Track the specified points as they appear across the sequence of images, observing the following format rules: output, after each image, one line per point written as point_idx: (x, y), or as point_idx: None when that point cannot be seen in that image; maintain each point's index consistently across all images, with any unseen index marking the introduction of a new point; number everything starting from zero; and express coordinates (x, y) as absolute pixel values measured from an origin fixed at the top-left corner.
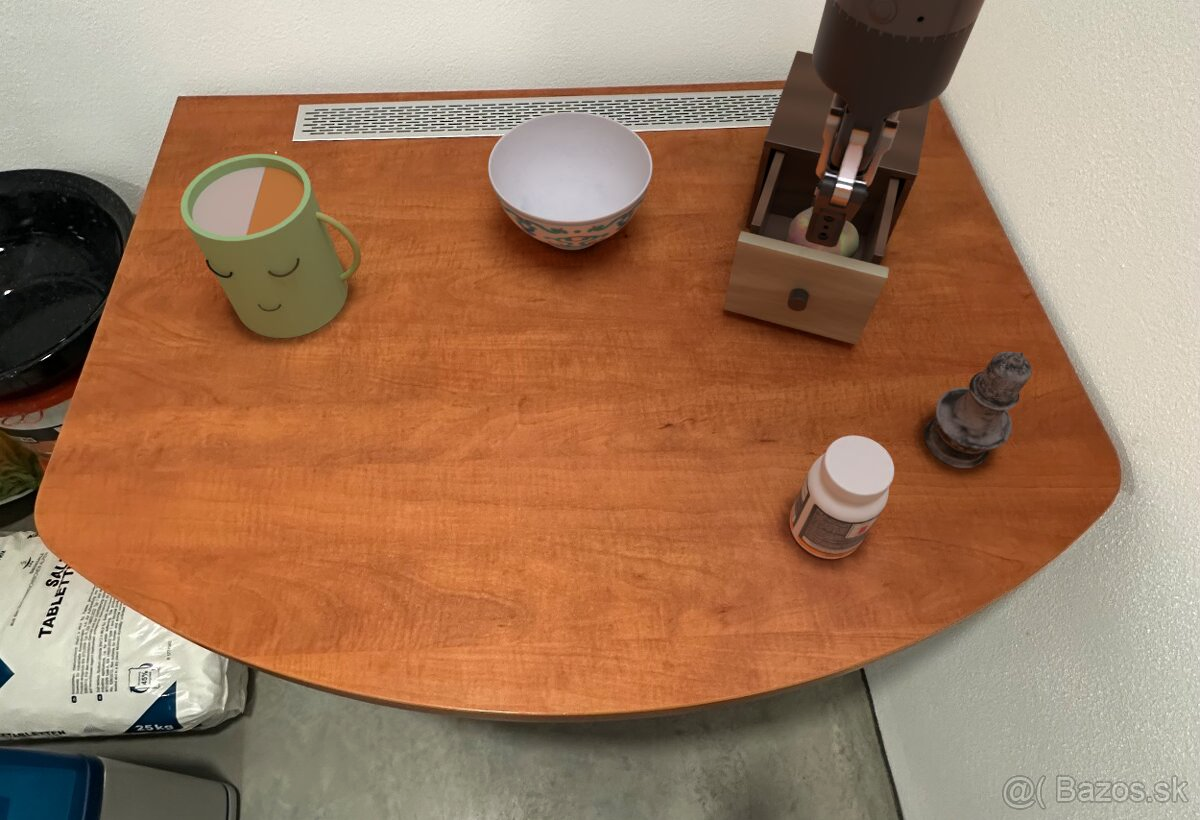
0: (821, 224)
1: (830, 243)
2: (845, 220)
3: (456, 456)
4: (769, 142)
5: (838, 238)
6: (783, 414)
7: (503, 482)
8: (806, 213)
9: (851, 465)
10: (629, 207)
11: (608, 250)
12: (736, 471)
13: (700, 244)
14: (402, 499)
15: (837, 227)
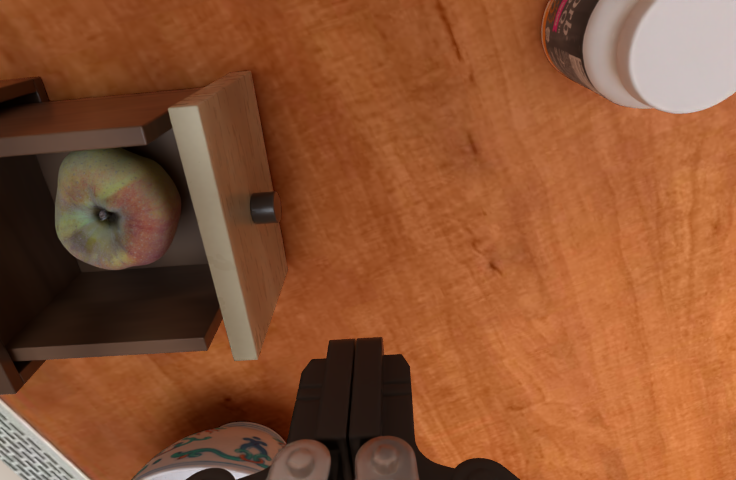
0: (414, 435)
1: (407, 364)
2: (380, 398)
3: (603, 433)
4: (13, 385)
5: (380, 352)
6: (419, 136)
7: (623, 387)
8: (100, 263)
9: (705, 61)
10: (250, 469)
11: (261, 408)
12: (535, 168)
13: None
14: (665, 452)
15: (411, 405)
